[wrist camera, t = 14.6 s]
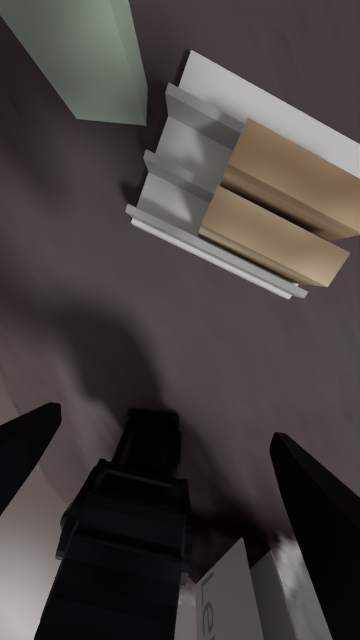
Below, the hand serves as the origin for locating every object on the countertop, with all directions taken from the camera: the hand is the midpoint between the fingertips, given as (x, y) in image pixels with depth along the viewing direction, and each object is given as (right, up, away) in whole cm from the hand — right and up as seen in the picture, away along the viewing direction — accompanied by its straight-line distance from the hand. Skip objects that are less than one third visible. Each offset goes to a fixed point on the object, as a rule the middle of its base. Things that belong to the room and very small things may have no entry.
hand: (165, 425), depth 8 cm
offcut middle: (+9, +14, +8) cm, 19 cm away
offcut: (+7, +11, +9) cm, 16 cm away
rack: (+6, +16, +9) cm, 19 cm away
